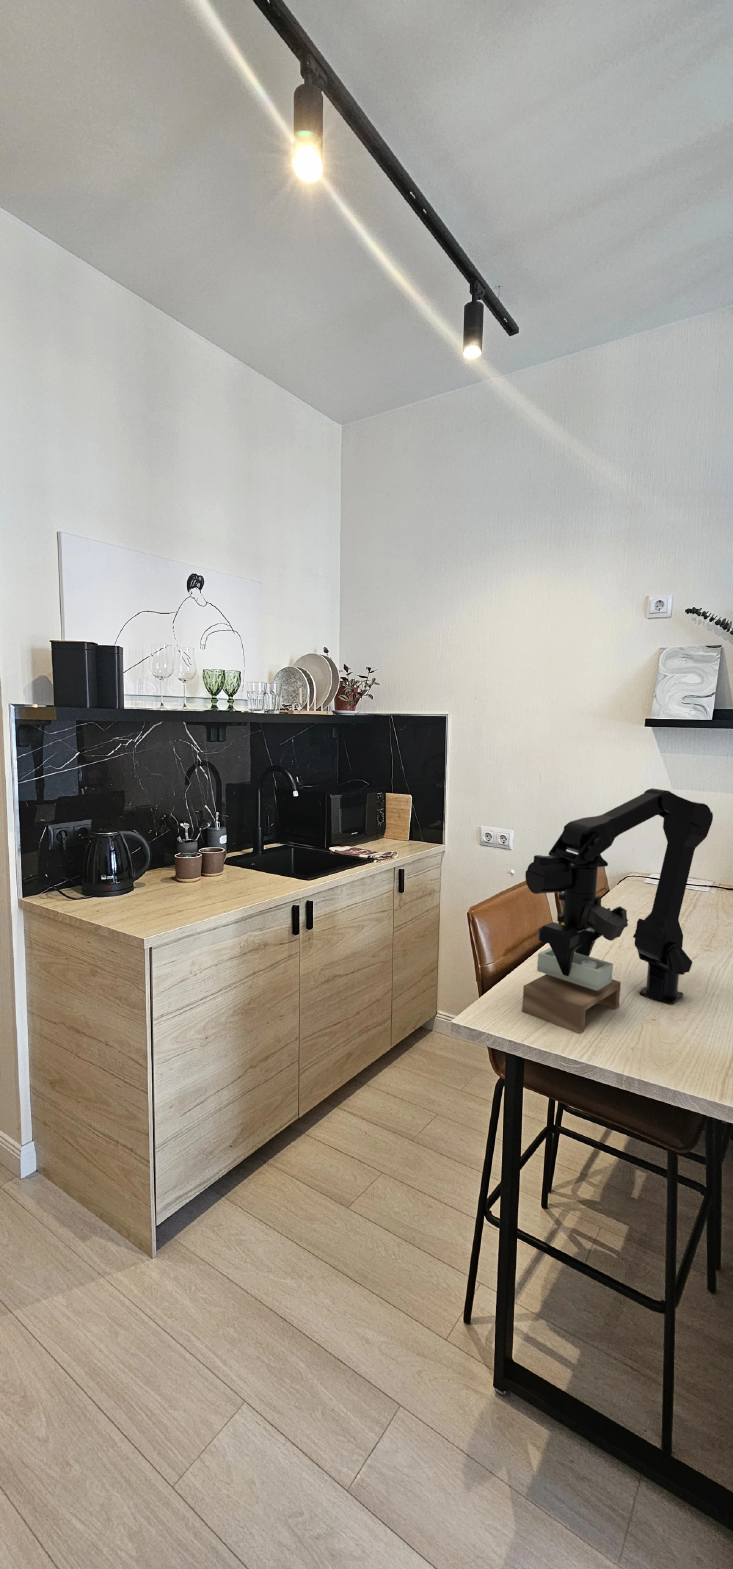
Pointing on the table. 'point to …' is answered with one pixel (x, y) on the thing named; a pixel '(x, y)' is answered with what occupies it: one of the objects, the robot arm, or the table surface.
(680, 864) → the robot arm
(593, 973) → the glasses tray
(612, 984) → the walnut shelf
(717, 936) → the table surface
